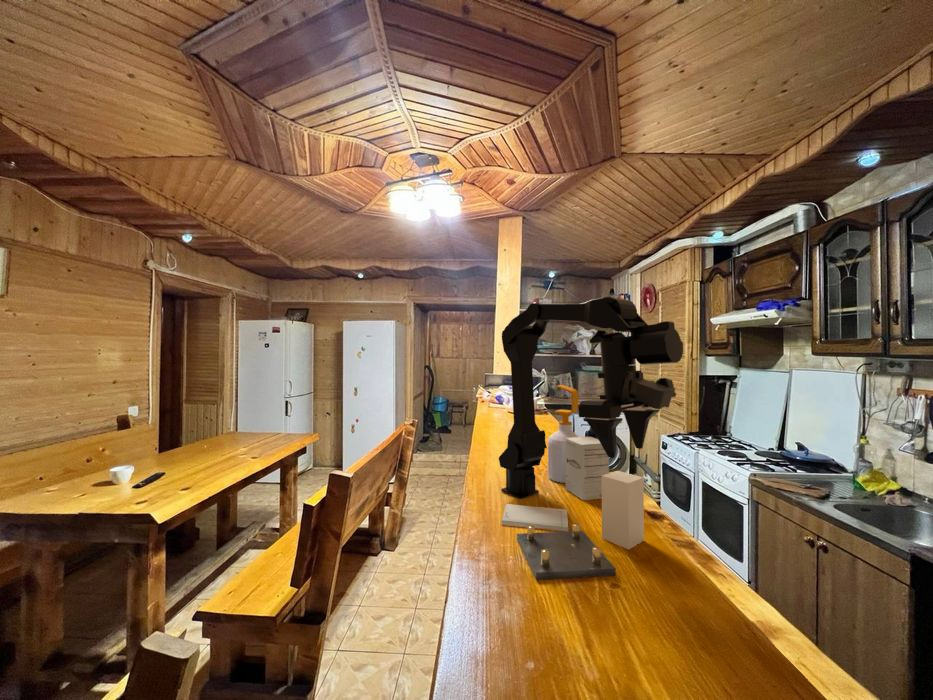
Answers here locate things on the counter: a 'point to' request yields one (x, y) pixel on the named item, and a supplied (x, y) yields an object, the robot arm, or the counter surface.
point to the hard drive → (535, 517)
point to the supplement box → (585, 467)
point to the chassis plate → (563, 554)
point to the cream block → (623, 509)
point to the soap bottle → (561, 440)
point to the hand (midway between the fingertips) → (626, 452)
